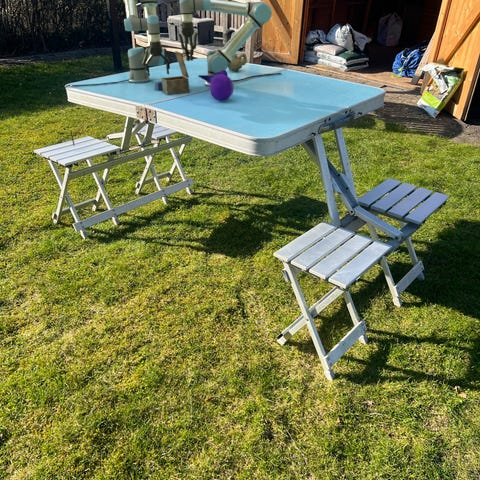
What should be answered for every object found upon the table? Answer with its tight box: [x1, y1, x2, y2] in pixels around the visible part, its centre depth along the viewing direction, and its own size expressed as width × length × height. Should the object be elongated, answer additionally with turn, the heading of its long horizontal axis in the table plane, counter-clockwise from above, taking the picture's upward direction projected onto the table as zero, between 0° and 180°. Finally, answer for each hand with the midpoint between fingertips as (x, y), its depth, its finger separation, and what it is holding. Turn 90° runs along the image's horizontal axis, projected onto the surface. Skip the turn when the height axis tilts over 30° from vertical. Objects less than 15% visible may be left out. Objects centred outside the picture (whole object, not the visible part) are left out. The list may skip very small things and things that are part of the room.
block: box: [154, 80, 163, 91], centre depth 311 cm, size 5×5×5 cm
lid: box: [174, 50, 193, 79], centre depth 299 cm, size 16×11×8 cm
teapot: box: [227, 52, 248, 73], centre depth 364 cm, size 21×12×15 cm, turn 120°
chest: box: [161, 75, 190, 96], centre depth 303 cm, size 15×11×9 cm
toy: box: [198, 70, 235, 102], centre depth 281 cm, size 16×18×27 cm
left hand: (158, 75), depth 307 cm, fingers open, 13 cm apart
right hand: (189, 60), depth 299 cm, fingers closed on lid, 2 cm apart
